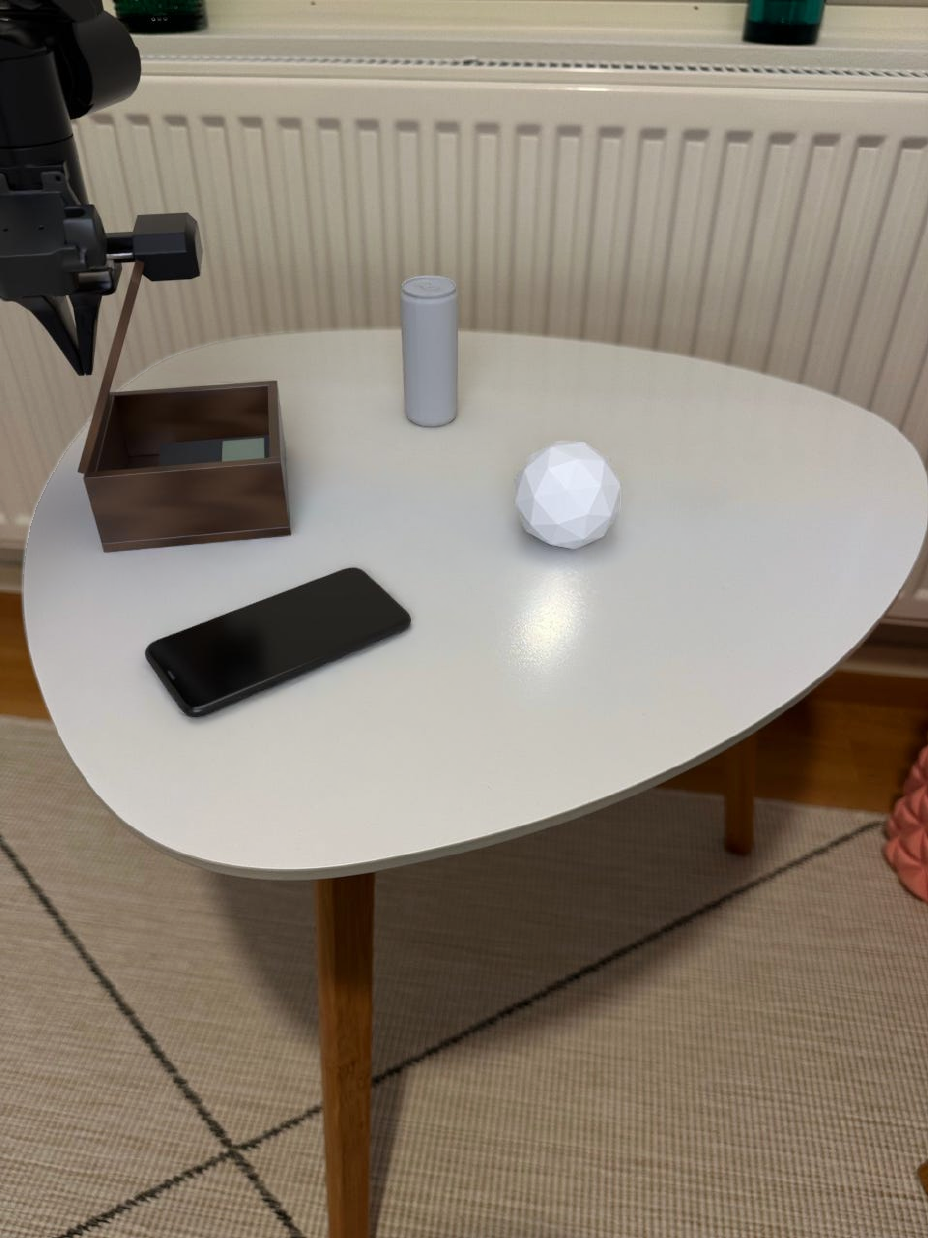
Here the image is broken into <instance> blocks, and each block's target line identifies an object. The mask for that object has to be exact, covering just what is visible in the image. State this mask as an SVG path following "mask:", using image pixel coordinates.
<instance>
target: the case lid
mask: <svg viewBox="0 0 928 1238" xmlns="http://www.w3.org/2000/svg"><path fill="white" fill-rule="evenodd" d="M144 266H145V263H144V262H142V261H139V260H135V262H134V263H133V266H132V267H133V268H132V271H131V275H130V278H129V282H128V285H127V289H126V294H125V297H124V300H123V303H122V307H121V311H120V314H119V318H118V322H117V326H116V330H115V332H114V337H113V340H112V344H111V348H110V351H109V355H108V357H107V358H108V359H107V362H106V366H105V370H104V373H103V376H102V380H101V384H100V388H99V391H98V395H97V399H96V402H95V406H94V409H93V412H92V416H91V420H90V424H89V427H88V432H87V435H86V439H85V443H84V446H83V450H82V453H81V456H80V460H79V464H78V468H77V473H79V474H83V475H84V474H87V470H88V467H89V463H90V460H91V456H92V453H93V449H94V446H95V442H96V439H97V435H98V431H99V428H100V424H101V421H102V417H103V414H104V410H105V407H106V403H107V399H108V396H109V392H111V388H112V385H113V382H114V378H115V374H116V370H117V367H118V363H119V360H120V356H121V353H122V350H123V346H124V342H125V339H126V336H127V331H128V328H129V324H130V321H131V317H132V315H133V310H134V307H135V303H136V300H137V297H138V294H139V289H140V286H141V283H142V282H141V281H142V278H143V275H142V274H143V270H144Z"/></svg>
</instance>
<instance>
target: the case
mask: <svg viewBox="0 0 928 1238" xmlns="http://www.w3.org/2000/svg"><path fill="white" fill-rule="evenodd" d="M283 422H284V421H283V414H282V407H281V399H280V392H279V385H278V380H275V379H274V380H263V381H250V382H247V381H246V382H236V383H235V382H233V383H221V384H208V385H207V384H206V385H191V386H179V387H164V388H151V389H149V388H148V389H138V390H137V389H136V390H124V391H123V390H122V391H121V390H120V391H110V392H109V396H108V399H107V403H106V407H105V410H104V414H103V417H102V421H101V424H100V428H99V431H98V435H97V439H96V442H95V446H94V449H93V453H92V456H91V460H90V463H89V467H88V470H87V474H83V477H82V479H83V483H84V486H85V490H86V493H87V497H88V501H89V504H90V508H91V511H92V515H93V519H94V522H95V525H96V530H97V532H98V536H99V541H100V543H101V547H102V551H103V553H113V552H123V551H125V552H126V551H134V550H145V549H157V548H166V547H167V548H168V547H179V546H188V545H189V546H190V545H199V544H211V543H221V542H233V541H241V540H243V541H244V540H255V539H265V538H274V537H286V536H287V537H288V536H291V533H292V532H291V515H290V498H289V483H288V482H289V478H288V461H287V446H286V439H285V432H284V423H283ZM264 435H269V454H270V458H259V459H247V460H234V461H222V462H210V463H198V464H185V465H173V466H161V467H157V465H158V458H159V452H160V445H161V444H164V443H176V442H189V441H202V440H214V439H227V438H239V437H252V436H264Z"/></svg>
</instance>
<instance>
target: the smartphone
mask: <svg viewBox="0 0 928 1238" xmlns="http://www.w3.org/2000/svg"><path fill="white" fill-rule="evenodd" d="M411 623H412V617H411V615H410V613H409V611H407V609H405V608H404V607H403V606H402V605H401V604H400V603H399V602H398V601H397V600H396V599H395V598H393V596H392V595H390V594H389V592H388V591H386V589H384V588H383V587H382V585H380V584H378V582H376V580H375V579H374V578H372V576H370V575H369V574H368V573H367V572H366V571H365V570H364V569H361V568H359V567H355V566H353V567H352V566H351V567H346V568H342V569H340V570H337V571H334V572H332V573H329V574H327V575H324V576H322V577H319V578H316V579H313V580H310V581H309V582H306V583H303V584H300V585H297V586H295V587H293V588H289V589H288V590H285V591H282V592H279V593H277V594H274V595H271V596H269V597H267V598H264V599H262V600H258V601H256V602H254V603H250V604H247V605H246V606H243V607H240V608H237V609H236V610H232V611H230V612H227V613H225V614H222V615H218V616H216V617H214V618H211V619H208V620H206V621H203V622H201V623H197V624H195V625H193V626H190V627H188V628H185V629H182V630H179V631H177V632H174V633H172V634H168V635H166V636H164V637H161V638H159V639H156V640H154V641H152V642H150V643H149V644H148V645H147V646H146V648H145V650H144V657H145V660H146V661H147V663H148V664H149V666H150V667H151V669H152V670H153V672H154V673H155V675H156V676H157V678H158V679H159V681H160V682H161V684H162V685H163V686H164V687H165V689H166V691H167V692H168V694H169V695H170V696H171V698H172V699H173V701H174V702H175V704H176V706H178V708H179V710H181V712H182V713H183V714H184V715H186V716H187V717H190V718H195V719H196V718H202V717H205V716H206V717H207V716H209V715H211V714H214V713H216V712H219V711H221V710H223V709H226V708H227V707H230V706H231V705H234V704H237V703H239V702H242V701H244V700H246V699H248V698H251V697H253V696H255V695H258V694H260V693H262V692H265V691H267V690H269V689H272V688H274V687H276V686H279V685H281V684H284V683H286V682H288V681H290V680H292V679H295V678H298V677H300V676H302V675H304V674H307V673H309V672H311V671H314V670H316V669H319V668H321V667H323V666H326V665H328V664H331V663H333V662H335V661H338V660H339V659H342V658H344V657H347V656H349V655H351V654H354V653H356V652H358V651H361V650H363V649H365V648H367V647H370V646H372V645H375V644H377V643H380V642H381V641H384V640H386V639H389V638H392V637H393V636H395V635H398V634H400V633H403V632H404V631H406V630H407V629H408V628H409V627H410V626H411Z"/></svg>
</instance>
